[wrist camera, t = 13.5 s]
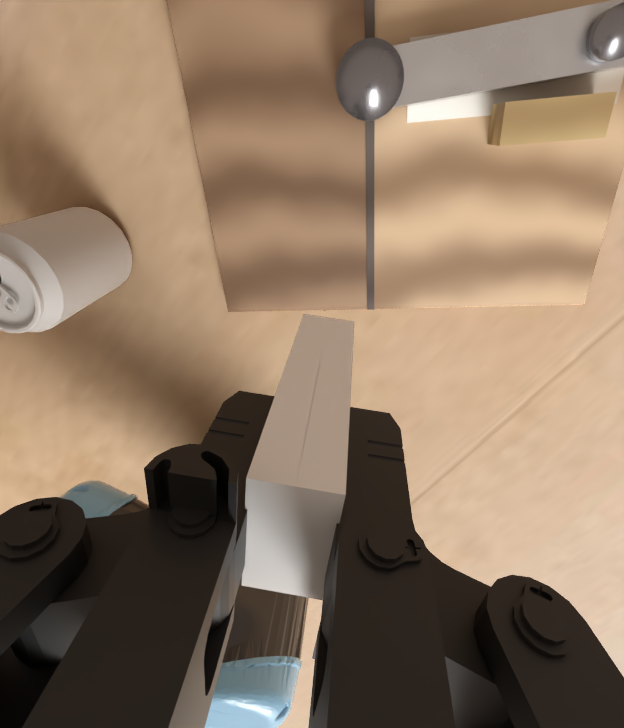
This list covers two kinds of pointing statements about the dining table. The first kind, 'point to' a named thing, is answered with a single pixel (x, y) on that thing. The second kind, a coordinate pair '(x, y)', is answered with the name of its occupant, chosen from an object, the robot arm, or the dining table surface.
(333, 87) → the door board
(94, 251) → the can
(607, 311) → the dining table surface
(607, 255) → the dining table surface
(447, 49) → the bar
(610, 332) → the dining table surface
